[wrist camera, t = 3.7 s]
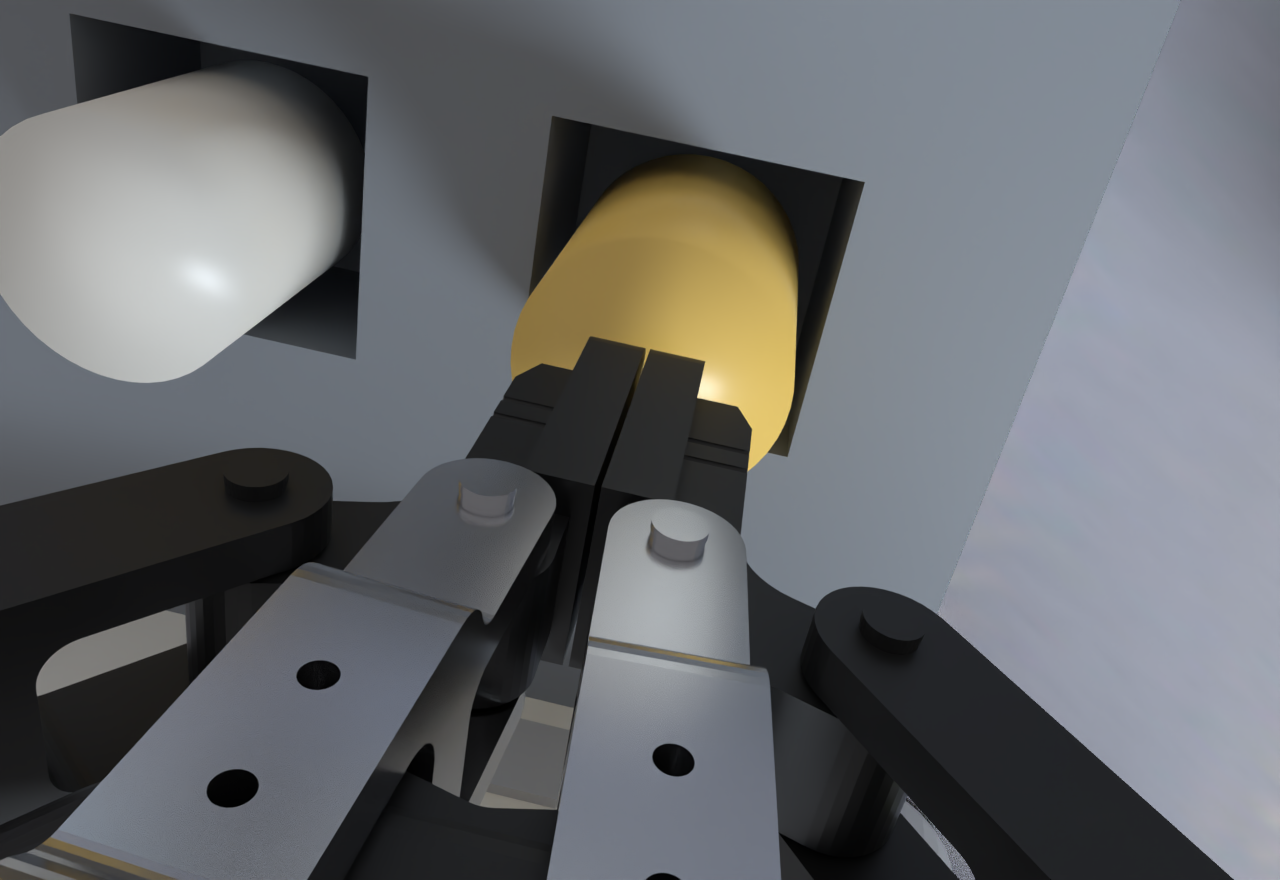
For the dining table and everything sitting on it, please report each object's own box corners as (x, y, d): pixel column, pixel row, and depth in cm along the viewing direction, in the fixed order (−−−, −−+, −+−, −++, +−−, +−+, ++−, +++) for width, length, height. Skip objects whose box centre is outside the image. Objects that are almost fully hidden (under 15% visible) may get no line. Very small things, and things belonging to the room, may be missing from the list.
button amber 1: (824, 180, 18) (828, 273, 13) (770, 386, 20) (758, 526, 15) (597, 132, 18) (528, 207, 14) (566, 341, 20) (496, 466, 15)
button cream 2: (375, 85, 18) (236, 145, 14) (365, 296, 20) (241, 408, 16) (159, 39, 18) (-47, 84, 14) (169, 253, 20) (-9, 351, 16)
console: (1295, -564, 15) (2099, -1334, 6) (846, 688, 26) (863, 1114, 17) (-28, -795, 16) (-1221, -1780, 6) (98, 512, 27) (-266, 826, 18)
